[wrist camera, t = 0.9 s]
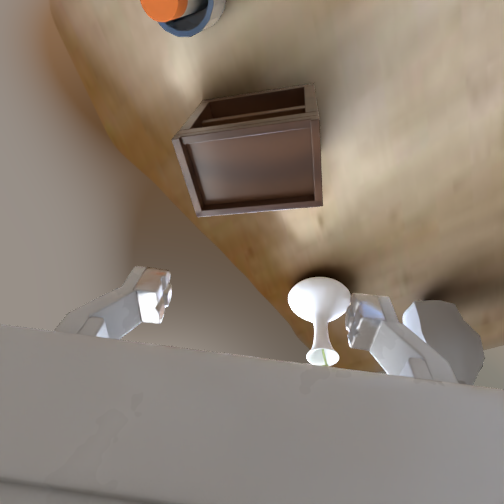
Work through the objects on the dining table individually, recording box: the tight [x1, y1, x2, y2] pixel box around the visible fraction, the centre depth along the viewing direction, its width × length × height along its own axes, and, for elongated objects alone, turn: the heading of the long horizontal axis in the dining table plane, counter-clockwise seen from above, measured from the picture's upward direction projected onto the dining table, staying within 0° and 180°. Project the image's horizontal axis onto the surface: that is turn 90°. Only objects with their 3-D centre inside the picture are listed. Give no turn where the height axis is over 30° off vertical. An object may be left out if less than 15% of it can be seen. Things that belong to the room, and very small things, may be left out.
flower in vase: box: [288, 277, 351, 367], centre depth 52 cm, size 13×11×25 cm
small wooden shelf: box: [172, 83, 323, 217], centre depth 38 cm, size 9×14×13 cm, turn 100°
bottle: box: [403, 300, 485, 385], centre depth 48 cm, size 11×11×30 cm
